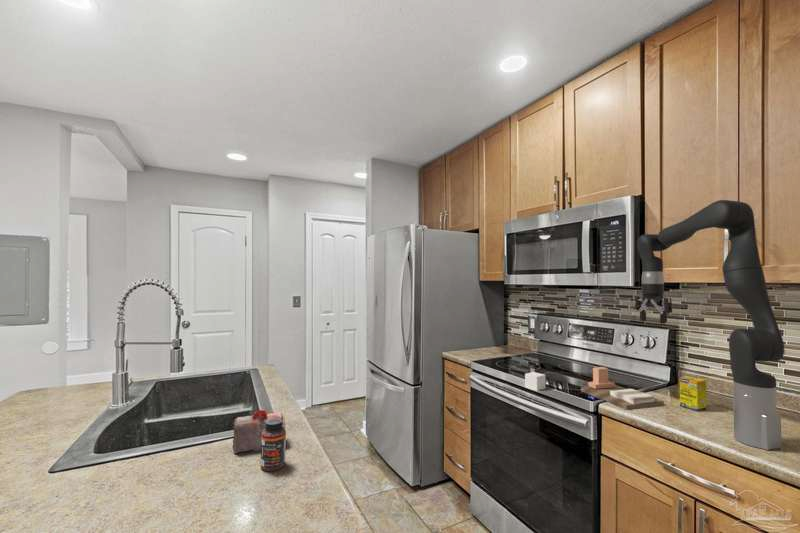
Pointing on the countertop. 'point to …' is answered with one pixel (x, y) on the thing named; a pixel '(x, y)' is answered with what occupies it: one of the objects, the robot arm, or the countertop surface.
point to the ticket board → (616, 400)
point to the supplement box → (693, 393)
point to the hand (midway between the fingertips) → (652, 322)
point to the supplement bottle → (273, 445)
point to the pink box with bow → (252, 430)
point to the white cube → (535, 381)
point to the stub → (600, 378)
